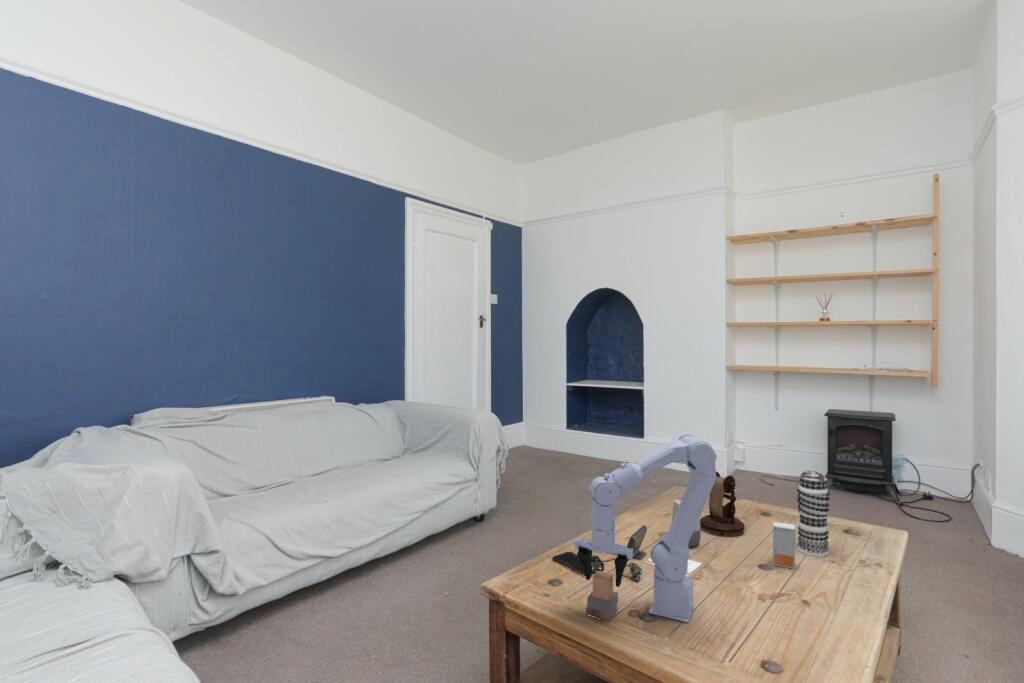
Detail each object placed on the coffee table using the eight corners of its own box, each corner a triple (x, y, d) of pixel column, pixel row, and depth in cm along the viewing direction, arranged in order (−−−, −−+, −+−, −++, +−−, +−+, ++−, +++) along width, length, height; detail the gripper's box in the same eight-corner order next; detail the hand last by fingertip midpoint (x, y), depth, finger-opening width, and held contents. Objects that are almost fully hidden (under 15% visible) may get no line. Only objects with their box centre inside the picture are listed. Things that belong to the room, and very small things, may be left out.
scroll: (690, 526, 191) (690, 471, 190) (721, 519, 197) (721, 466, 197) (722, 540, 177) (722, 481, 177) (754, 533, 184) (754, 476, 183)
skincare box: (772, 565, 158) (772, 525, 158) (772, 560, 162) (772, 521, 161) (795, 569, 155) (795, 529, 155) (795, 564, 159) (795, 524, 159)
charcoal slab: (617, 602, 132) (617, 592, 132) (611, 613, 127) (611, 603, 127) (594, 597, 135) (594, 587, 135) (587, 607, 130) (587, 597, 130)
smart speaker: (704, 549, 170) (704, 506, 170) (675, 549, 170) (675, 506, 170) (695, 538, 179) (695, 497, 179) (667, 538, 180) (667, 497, 179)
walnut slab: (617, 611, 133) (616, 602, 133) (609, 623, 127) (609, 613, 127) (594, 606, 135) (594, 596, 135) (586, 617, 130) (586, 607, 130)
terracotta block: (613, 593, 132) (613, 573, 132) (608, 600, 128) (608, 580, 128) (597, 590, 134) (597, 570, 134) (592, 597, 130) (592, 577, 130)
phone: (569, 551, 167) (604, 567, 155) (569, 554, 167) (604, 571, 155) (550, 557, 163) (584, 574, 150) (550, 560, 163) (584, 578, 150)
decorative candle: (828, 559, 162) (828, 478, 162) (794, 551, 168) (794, 473, 167) (831, 549, 169) (831, 472, 169) (799, 542, 175) (799, 467, 175)
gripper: (569, 527, 131) (570, 581, 131) (627, 537, 124) (627, 595, 124) (580, 518, 137) (580, 570, 137) (635, 528, 130) (635, 582, 130)
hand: (603, 581), depth 131 cm, fingers open, 7 cm apart
